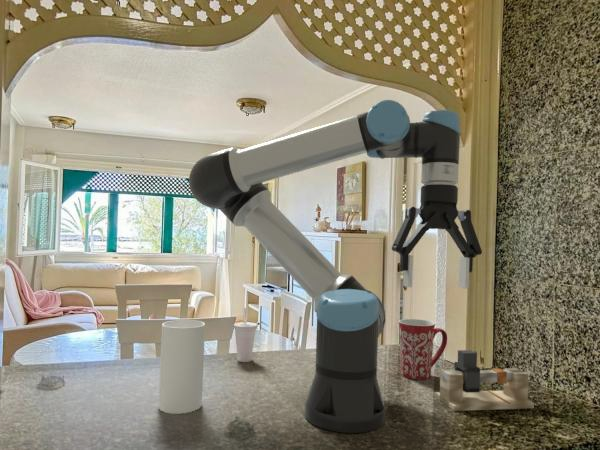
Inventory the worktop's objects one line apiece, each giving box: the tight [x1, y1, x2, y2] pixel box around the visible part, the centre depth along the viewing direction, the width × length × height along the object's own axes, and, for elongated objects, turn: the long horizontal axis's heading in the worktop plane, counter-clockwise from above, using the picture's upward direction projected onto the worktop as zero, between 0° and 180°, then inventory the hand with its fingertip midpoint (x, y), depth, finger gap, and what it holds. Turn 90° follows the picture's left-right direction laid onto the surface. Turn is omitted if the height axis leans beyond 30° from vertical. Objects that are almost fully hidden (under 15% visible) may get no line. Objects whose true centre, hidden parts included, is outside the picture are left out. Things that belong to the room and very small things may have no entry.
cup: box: [158, 319, 206, 415], centre depth 88 cm, size 8×8×16 cm
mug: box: [398, 318, 448, 381], centre depth 114 cm, size 13×9×14 cm
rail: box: [434, 367, 535, 412], centre depth 96 cm, size 18×8×7 cm, turn 100°
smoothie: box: [233, 307, 258, 363], centre depth 122 cm, size 6×6×14 cm
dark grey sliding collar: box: [453, 349, 481, 392], centre depth 95 cm, size 3×5×8 cm, turn 10°
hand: (435, 287), depth 95 cm, fingers open, 12 cm apart
